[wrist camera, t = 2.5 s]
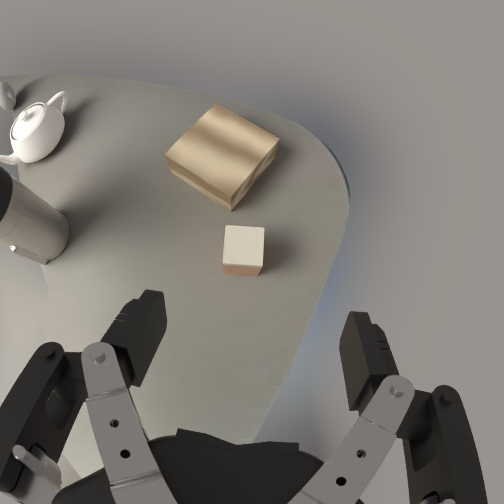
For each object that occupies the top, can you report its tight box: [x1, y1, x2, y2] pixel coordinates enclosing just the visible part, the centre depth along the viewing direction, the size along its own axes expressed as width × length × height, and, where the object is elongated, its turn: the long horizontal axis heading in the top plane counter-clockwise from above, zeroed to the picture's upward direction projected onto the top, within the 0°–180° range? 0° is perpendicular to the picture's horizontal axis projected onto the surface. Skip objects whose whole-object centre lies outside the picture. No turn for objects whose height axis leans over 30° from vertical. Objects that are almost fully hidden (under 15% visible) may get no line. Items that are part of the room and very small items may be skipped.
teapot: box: [0, 91, 68, 165], centre depth 43 cm, size 22×14×11 cm, turn 143°
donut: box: [0, 81, 16, 110], centre depth 46 cm, size 10×4×10 cm, turn 31°
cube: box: [223, 225, 264, 276], centre depth 41 cm, size 5×5×8 cm
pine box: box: [164, 104, 280, 211], centre depth 46 cm, size 13×13×6 cm
